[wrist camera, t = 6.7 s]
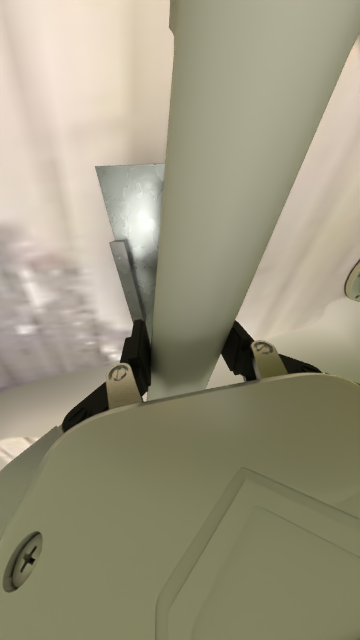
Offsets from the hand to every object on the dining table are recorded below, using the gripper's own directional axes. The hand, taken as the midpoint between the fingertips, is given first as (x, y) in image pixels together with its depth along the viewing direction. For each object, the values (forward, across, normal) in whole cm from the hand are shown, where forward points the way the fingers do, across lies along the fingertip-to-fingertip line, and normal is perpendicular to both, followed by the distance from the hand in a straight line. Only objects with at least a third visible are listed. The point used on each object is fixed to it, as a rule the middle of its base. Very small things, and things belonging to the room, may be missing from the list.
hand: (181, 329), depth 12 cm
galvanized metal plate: (+14, 0, 0) cm, 14 cm away
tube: (+1, 0, 0) cm, 1 cm away
